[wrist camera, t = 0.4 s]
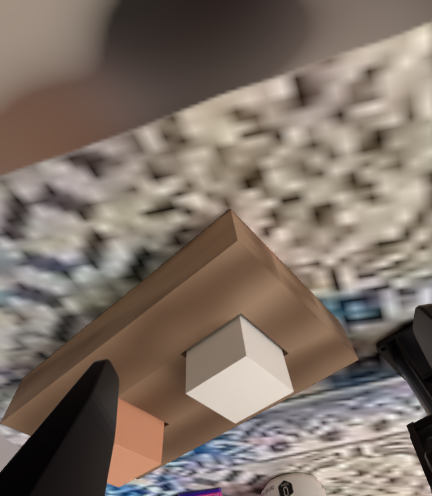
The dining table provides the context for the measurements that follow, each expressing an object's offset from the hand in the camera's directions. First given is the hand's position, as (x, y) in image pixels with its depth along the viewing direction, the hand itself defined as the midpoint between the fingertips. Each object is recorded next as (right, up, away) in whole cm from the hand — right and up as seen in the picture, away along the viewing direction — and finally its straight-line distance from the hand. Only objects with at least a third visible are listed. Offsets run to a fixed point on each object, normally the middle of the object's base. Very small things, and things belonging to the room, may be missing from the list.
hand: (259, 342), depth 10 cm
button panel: (-5, -6, +19) cm, 20 cm away
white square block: (0, -4, +14) cm, 15 cm away
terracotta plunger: (-9, -11, +18) cm, 23 cm away
